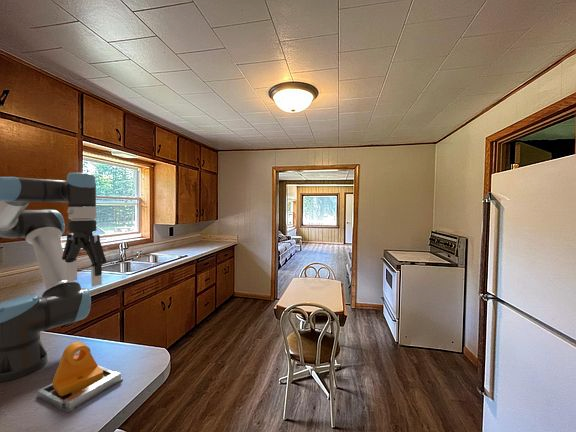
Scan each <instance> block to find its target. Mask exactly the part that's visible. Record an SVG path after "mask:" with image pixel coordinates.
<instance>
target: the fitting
mask: <svg viewBox="0 0 576 432" xmlns="http://www.w3.org/2000/svg"><path fill="white" fill-rule="evenodd" d="M97 365H98V364H97ZM98 366H99V367H100V368H101V369H102V370H103V378H102V379H100V380H98V381H95V383H94V384H92V385H90V386H88V387H86V388H85V389H83V390H81V391H79V392H77V393H75V394H73V395H72V394H71V393H69V394H66V395H64V396H60V395H59V394H58V393H57V392H56V390H55V389H54V388H53V382H52V383H50V384H48V385H45V386H44V387H41V388H40V389H38V390H36V395H37V398H39V399H41V400H43V401H44V402H46V403H48V404H50V405H52V406H53V407H55V408H58V409H59V410H61V411H62V412H64V413H67V414H68V413H71V412H73V411H74V410H75V409H77V408H79V407H80V406H82V405H84V404H85V403H87V402H88V401H91V400H92V399H94V398H95V397H97V396H99V395H100V394H102V393H103V392H105V391H107V390H109V389H110V388H113V387H114V386H115V385H117V384H118V383H121V382H122V381H123V380H124V379H123V378H122V372H118V371H116V370H115V371H114V370H112V369H109V368H107V367H104V366H102V365H98Z"/></svg>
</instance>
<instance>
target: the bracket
mask: <svg viewBox="0 0 576 432" xmlns="http://www.w3.org/2000/svg"><path fill="white" fill-rule="evenodd" d="M76 353H77V354H76ZM99 366H100V365H99ZM99 366H98V364H97V362H96V360H95V359H94V357H93V355H92V353H91V349H90V347H89V346H87V345H86V344H85V343H84V342H82V341H73V342H71V343H69V344H68V345H67V346H66V347H65V349H64V351H63V353H62V355H61V359H60V360H59V363H58V365H57V369H56V372H55V374H54V375H53V376H54V377H53V379H52V383H53V388H54V389H55V390H56V392H57V393H58V394H59V395H60V396H64V395H66V394H69V393H71V394H72V395H73V394H75V393H77V392H79V391H81V390H83V389H85V388H86V387H88V386H90V385H92V384H94V383H95V381H98V380H100V379H102V378H103V370H102V369H101V368H100V367H99Z"/></svg>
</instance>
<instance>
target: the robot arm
mask: <svg viewBox="0 0 576 432" xmlns="http://www.w3.org/2000/svg"><path fill="white" fill-rule="evenodd" d="M30 203H67V208H68V209H67V210H66V213H67V214H68V216H67V218H68V219H69V221H68V222H67V224H68V225H67V226H68V227H67V228H68V232H69V233H67V234H66V243H65V246H64V249H63V246H62V243H61V240H60V239H61V238H62V235H63V234H64V233H65V231H66V224H65V219H64V217H63V214H61V212H59V211H58V210H56V209H48V208H44V209H26V208H27V207H28V206H29V204H30ZM95 219H97V183H96V176H95V175H94V174H92V173H88V172H87V173H86V172H68V174H66V180H65V179H64V180H61V179H43V178H33V177H30V178H29V177H18V176H17V177H16V176H0V238H4V239H19V238H20V239H23V238H24V239H25V241H26V243H28V244H30V245H32V248H33V251H34V254H35V258H36V262H37V263H38V268H39V271H40V275H41V279H42V282H43V285H44V289H45V290H44V291H43V292H42V294H41V297H40V295H38V294H35V293H31V294H27V295H25V294H23V295H19V296H15V297H12V298H9V299H6V300H4V301H1V302H0V383H3V382H9V381H12V380H15V379H18V378H21V377H25V376H27V375H30V374H32V373H34V372H35V371H37V370H39V369H41V368H42V367H44V366H45V365H46V364H47V363H48V352H47V351H46V348H45V346H44V345H43V342H42V340H41V333H42V332H44V331H47V330H51V329H54V328H58V327H62V326H65V325H69V324H74V323H76V322H78V321H81V320H84V319H86V318H87V317H88V315H89V314H90V311H91V307H92V298H91V297H92V296H91V292H90V289H89V288H87V287H83V288H82V287H81V286H82V285H81V284H80V282H77V281H78V263H77V261H78V259H77V257H78V255H79V253H80V251H81V249H82V250H83V251H85V253H86V255H87V256H88V258H89V260H90V263H91V265H90V270H91V271H90V272H91V273H90V275H91V279H90V281H91V282H90V283H91V287H92V288H93V287H97V286H101V285H103V283H102V281H103V279H102V269H103V268H102V266H103V265H105V264H107V258H106V255H105V253H104V250H103V247H102V243H101V239H100V237H101V236H100V235H99V234H93V233H94V232H96V231H97V228H98V227H97V221H96V220H95Z"/></svg>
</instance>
